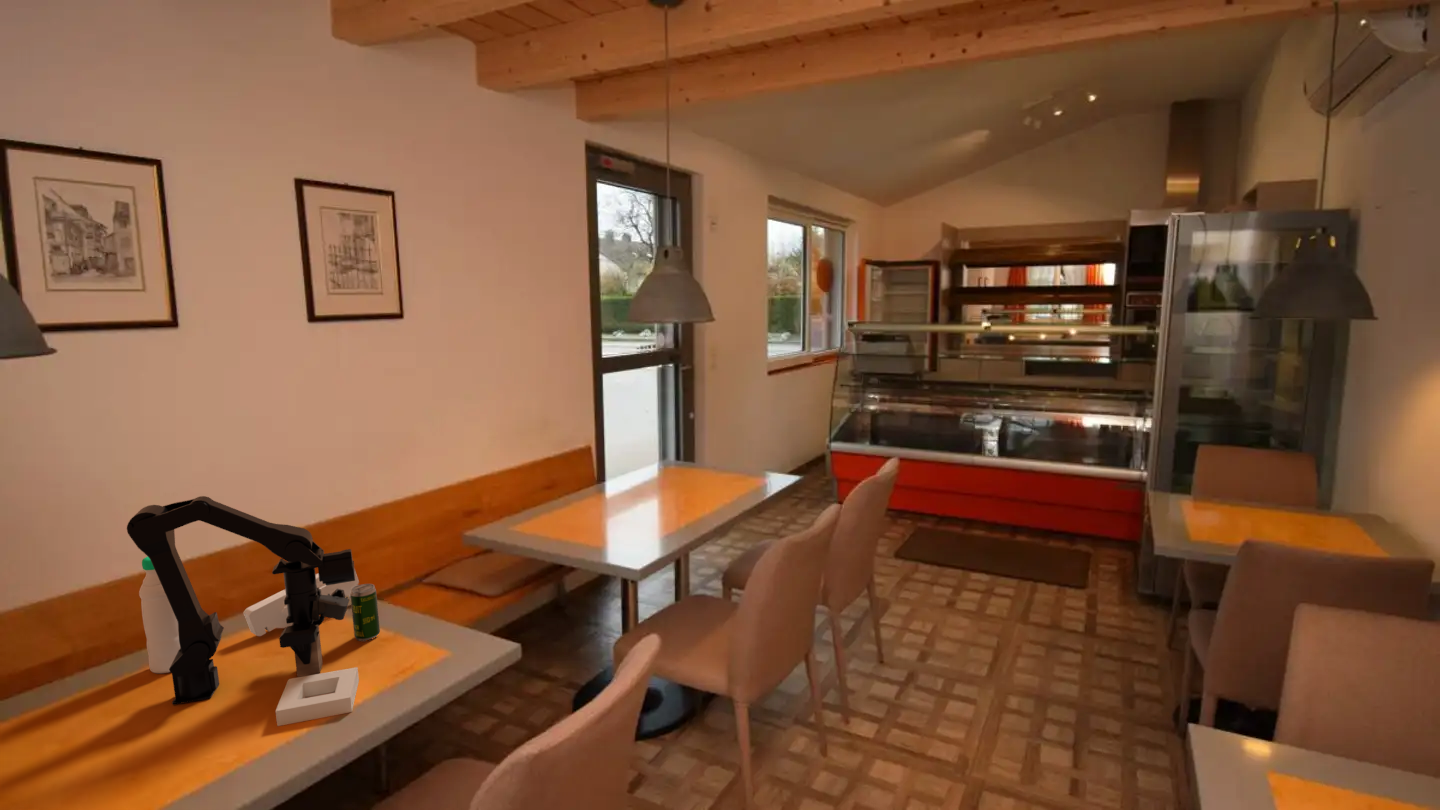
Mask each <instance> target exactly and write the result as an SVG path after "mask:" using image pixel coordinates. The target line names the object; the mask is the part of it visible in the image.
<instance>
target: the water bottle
mask: <svg viewBox="0 0 1440 810" xmlns="http://www.w3.org/2000/svg"><path fill="white" fill-rule="evenodd" d="M141 566H142V569H143V571H144V572H145V577H144V578H143V580H142V584H141V586H140V587H139V591H138V596H139V598H140V599H141V601H140V602H141V603H140V604H141V605H140V607H141V616H142V624H143V629H144V633H145V637H146V650H147V653H148V665H149V666H148V667H149V670H150V671H151V672H152V673H153V674H167V673H171V672H170V670H169V668H170V666H171V664H172V662H173V660H174V659H175V657H176V655H177V653H178V651H179V649H180V643H179V632H178V621H177V619H176V617H175V614H174V612H173V610H172V608H171V605H170V603H169V601H168V598H167V596H166V594H165V592H164V589H163V587H162V585H161V583H160V580H159V578H158V576H157V573H156V571H155V569H154V567H153V564H152V562H151V560H150V558H149V557H148V556H146V557H144V558H142V561H141Z"/></svg>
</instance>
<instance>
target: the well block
mask: <svg viewBox="0 0 1440 810" xmlns="http://www.w3.org/2000/svg"><path fill="white" fill-rule="evenodd" d="M358 670H359V668H358V666H355V667H350V668H346V669H345V668H344V669H337V670H334V671H328V672H320V673H316V674H311V675H305V676H299V677H293V678H289V679H288V680H287V682H286V685H285V688H284V689H283V692H282V695H281V697H280V699H279V701H278V704H277V706H276V709H275V716H276V717H275V718H276V719H275V720H276V724H277V727H281V726H284V725H291V724H296V723H302V722H306V721H310V720H317V719H323V718H327V717H332V716H337V715H342V714H348V713H353V709H354V703H355V699H356V694H357V691H358V686H359V682H360V679H359V678H360V677H359V671H358Z"/></svg>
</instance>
